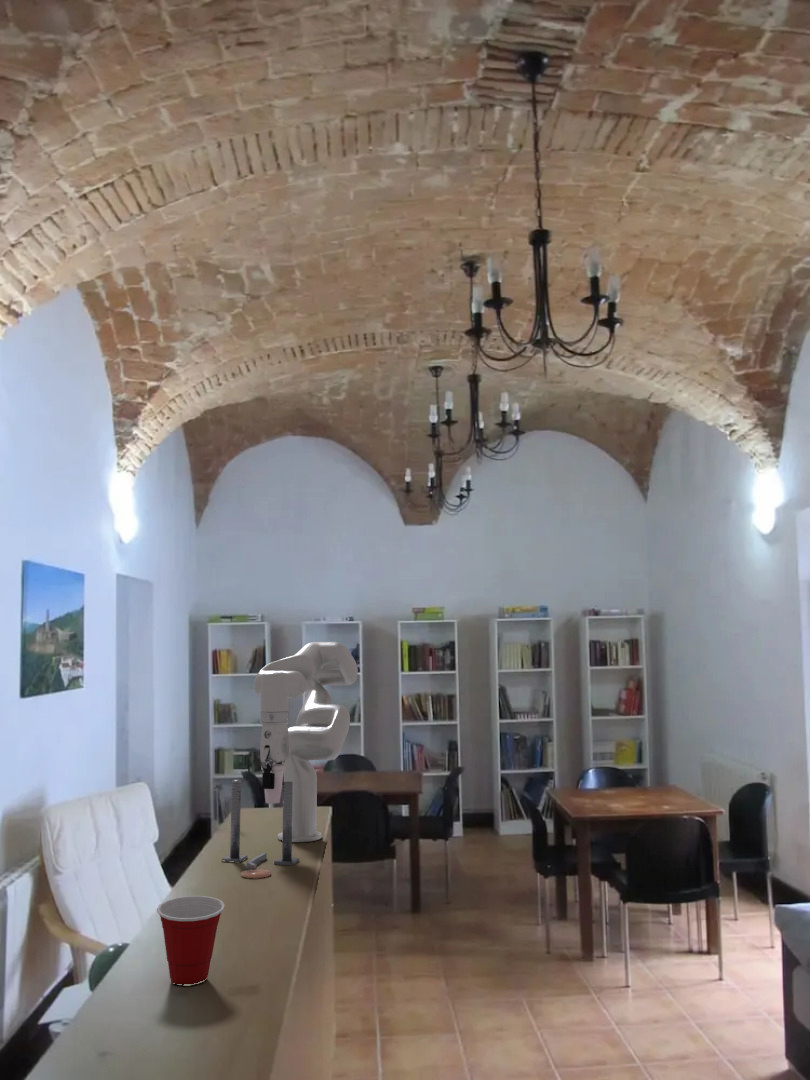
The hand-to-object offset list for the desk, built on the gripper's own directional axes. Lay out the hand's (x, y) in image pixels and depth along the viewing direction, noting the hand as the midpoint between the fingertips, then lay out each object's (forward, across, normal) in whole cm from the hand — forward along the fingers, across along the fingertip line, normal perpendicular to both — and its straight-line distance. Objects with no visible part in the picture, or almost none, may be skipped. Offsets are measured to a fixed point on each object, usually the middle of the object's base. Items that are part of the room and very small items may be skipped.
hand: (273, 786), depth 246 cm
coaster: (+18, -22, -4) cm, 29 cm away
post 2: (+18, -8, -7) cm, 21 cm away
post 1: (+18, -8, +7) cm, 21 cm away
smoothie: (+4, 0, 0) cm, 4 cm away
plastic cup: (+18, -92, -20) cm, 96 cm away
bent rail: (+18, -12, -1) cm, 21 cm away
